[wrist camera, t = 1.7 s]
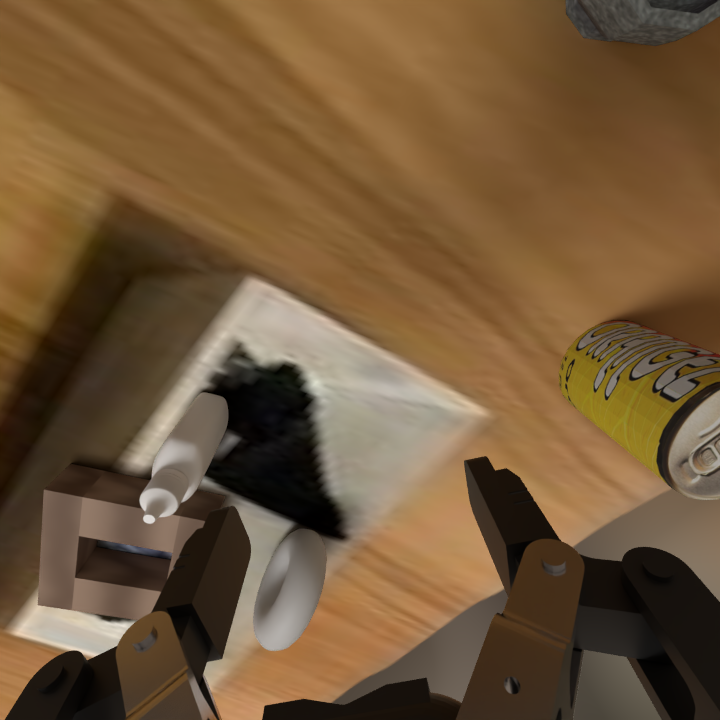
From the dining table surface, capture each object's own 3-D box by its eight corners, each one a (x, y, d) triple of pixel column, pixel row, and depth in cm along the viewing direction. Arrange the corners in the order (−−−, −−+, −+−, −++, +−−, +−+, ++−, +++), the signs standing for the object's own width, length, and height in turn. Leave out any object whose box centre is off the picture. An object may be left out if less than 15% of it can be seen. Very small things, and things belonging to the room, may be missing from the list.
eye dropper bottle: (168, 423, 35) (89, 525, 23) (210, 383, 33) (147, 471, 22) (207, 452, 36) (150, 562, 25) (248, 415, 35) (208, 512, 24)
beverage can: (675, 360, 35) (832, 430, 24) (598, 428, 38) (709, 521, 26) (617, 299, 33) (763, 345, 22) (538, 375, 35) (633, 454, 24)
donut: (286, 577, 42) (272, 682, 33) (257, 566, 41) (235, 670, 32) (334, 515, 40) (334, 609, 30) (304, 501, 39) (295, 594, 29)
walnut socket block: (61, 572, 40) (37, 605, 37) (70, 463, 35) (43, 489, 32) (200, 595, 42) (188, 627, 39) (225, 495, 38) (214, 523, 35)
